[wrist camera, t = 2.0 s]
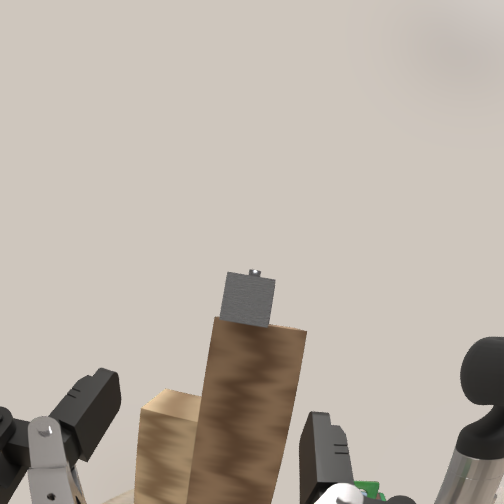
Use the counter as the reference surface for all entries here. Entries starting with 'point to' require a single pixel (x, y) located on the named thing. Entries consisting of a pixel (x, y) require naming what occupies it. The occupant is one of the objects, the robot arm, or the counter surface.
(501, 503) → the counter surface
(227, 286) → the dark grey bar piece
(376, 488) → the chalk box
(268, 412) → the upright wood plank
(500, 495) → the counter surface
